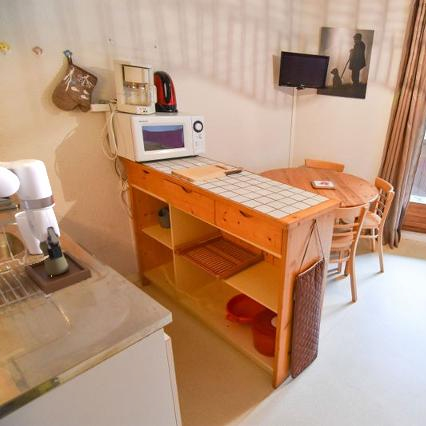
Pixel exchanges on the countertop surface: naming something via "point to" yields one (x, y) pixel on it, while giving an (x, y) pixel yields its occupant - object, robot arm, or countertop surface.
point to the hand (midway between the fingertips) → (52, 254)
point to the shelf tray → (58, 281)
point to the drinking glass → (27, 234)
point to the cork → (53, 261)
